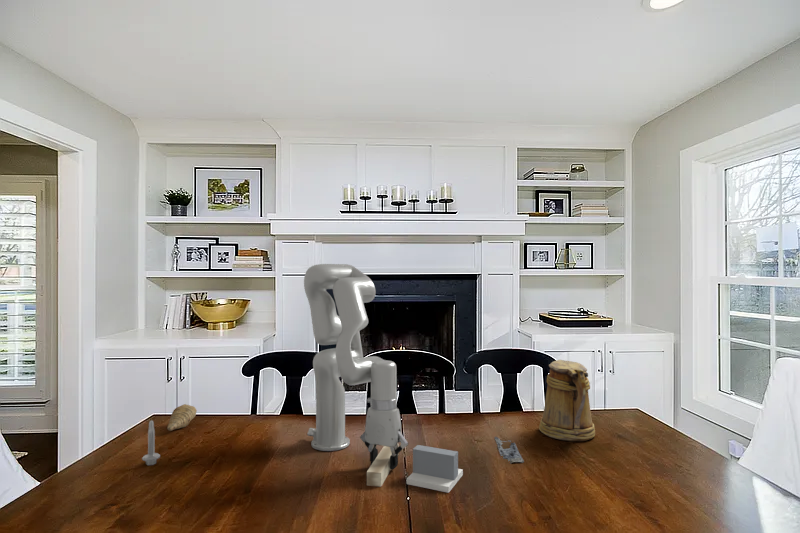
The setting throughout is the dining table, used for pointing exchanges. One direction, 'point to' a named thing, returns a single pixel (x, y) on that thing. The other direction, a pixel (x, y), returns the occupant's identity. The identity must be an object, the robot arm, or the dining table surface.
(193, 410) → the seashell
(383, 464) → the rod
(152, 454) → the screw
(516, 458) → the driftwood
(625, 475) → the dining table surface
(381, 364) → the robot arm
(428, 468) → the ridge
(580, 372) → the tankard
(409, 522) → the dining table surface
